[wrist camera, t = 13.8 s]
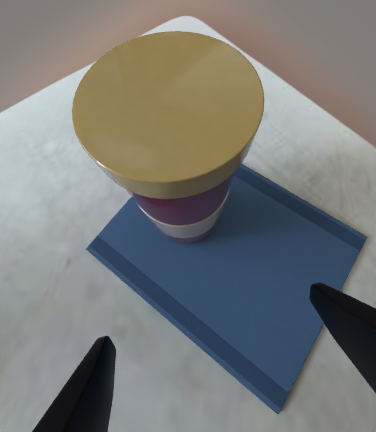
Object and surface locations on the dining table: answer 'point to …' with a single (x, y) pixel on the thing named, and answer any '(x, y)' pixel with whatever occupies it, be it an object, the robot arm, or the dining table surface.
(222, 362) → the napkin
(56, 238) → the dining table surface
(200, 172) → the jam jar
